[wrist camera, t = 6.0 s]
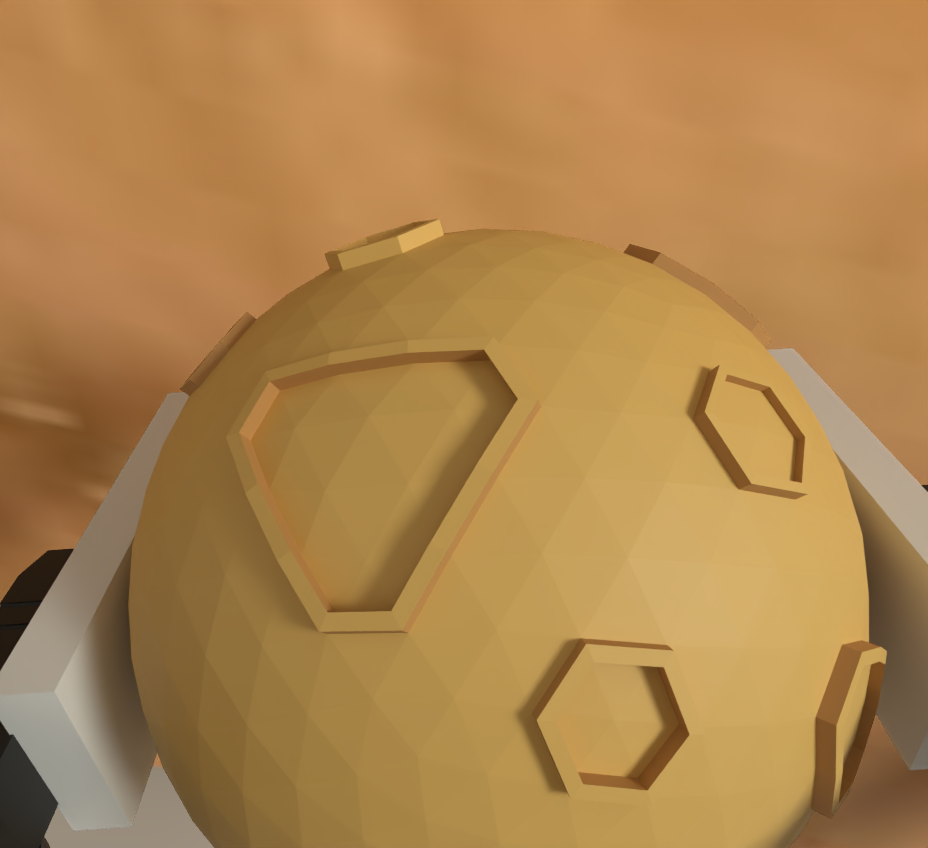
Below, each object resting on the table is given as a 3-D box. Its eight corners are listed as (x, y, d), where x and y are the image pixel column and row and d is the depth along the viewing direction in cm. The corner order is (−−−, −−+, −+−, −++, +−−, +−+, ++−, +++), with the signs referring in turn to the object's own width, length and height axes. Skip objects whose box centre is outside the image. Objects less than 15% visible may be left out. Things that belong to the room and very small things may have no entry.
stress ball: (441, 575, 19) (856, 776, 13) (59, 843, 12) (611, 1516, 6) (449, 176, 15) (1035, 229, 10) (-116, 215, 8) (938, 521, 2)
